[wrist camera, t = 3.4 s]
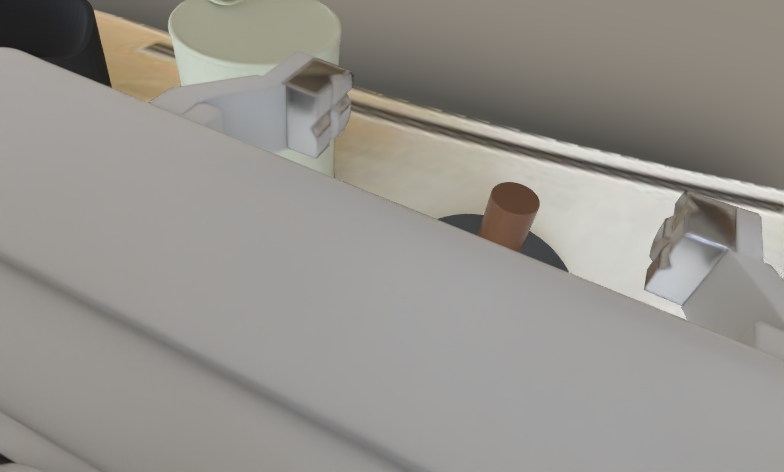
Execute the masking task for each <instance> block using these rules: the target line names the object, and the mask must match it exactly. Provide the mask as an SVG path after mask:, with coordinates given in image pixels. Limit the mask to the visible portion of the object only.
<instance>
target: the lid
mask: <svg viewBox="0 0 784 472" xmlns="http://www.w3.org/2000/svg"><path fill="white" fill-rule="evenodd" d="M539 205H540V204H539V199H538V197H537V195H536V194H535V193H534V192H533V191H532V190H531V189H529V188H528V187H526V186H524V185H521V184H518V183H513V182H505V183H501V184H498V185H497V186H495V187H494V188H493V189H492V191H491V194H490V198H489V201H488V204H487V207H486V210H485V213H484V215H478V214H460V215H452V216H447V217H443V218H440V219H437V220H440V221H442V222H445V223H447V224H450V225H452V226H455V227H457V228H459V229H462V230H464V231H467V232H469V233H472V234H474V235H477V236H479V237H482V238H484V239H487V240H489V241H492V242H494V243H497V244H499V245H502V246H504V247H507V248H509V249H511V250H514V251H516V252H519V253H521V254H524V255H526V256H529V257H531V258H534V259H536V260H539V261H541V262H544V263H546V264H549V265H551V266H554V267H556V268H559V269H561V270H563V271H566V272H568V270H567V268H566V266H565V265H564V263H563V262H562V260H561V259H560V257H559V256H558V255H557V254H556V253H555V251H554V250H553V249H552V248H551V247H550V246H549V245H548V244H546V243H545V242H544V241H543V240H542V239H540V238H539V237H538V236H536V235H535V234H533V233H532V232H530V231H529V230H530V228H531V225H532V223H533V221H534V218H535V216H536V213H537V211H538V209H539ZM568 273H569V272H568Z"/></svg>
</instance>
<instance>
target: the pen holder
mask: <svg viewBox="0 0 784 472" xmlns="http://www.w3.org/2000/svg"><path fill="white" fill-rule="evenodd" d="M0 47H7V48H13V49H17V50H20V51H23V52H26V53H28V54H30V55H33V56H35V57H37V58H40V59H42V60H44V61H47V62H49V63H51V64H54V65H56V66H59V67H61V68H64V69H66V70H69V71H71V72H74V73H76V74H79V75H81V76H83V77H86V78H88V79H91V80H93V81H96V82H98V83H101V84H103V85H106V86H108V87H111V88H112V86H111V82H110V78H109V74H108V69H107V65H106V61H105V57H104V52H103V48H102V44H101V40H100V35H99V31H98V27H97V23H96V19H95V14H94V10H93V8H92V6H91V4H90V3H89V2H88V1H87V0H0Z"/></svg>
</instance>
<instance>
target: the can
mask: <svg viewBox="0 0 784 472" xmlns="http://www.w3.org/2000/svg"><path fill="white" fill-rule="evenodd" d="M168 30H169V33H170V36H171V39H172V43H173V47H174V52H175V57H176V62H177V67H178V72H179V77H180V82H181V86H185V85H192V84H198V83H205V82H211V81H218V80H224V79H231V78H237V77H244V76H250V75H260V76H263V75H265V74H266V73H267V72H269V71H270V70H272V69H273V68H274V67H276V66H277V65H278V64H280V63H281V62H282V61H284V60H285V59H286V58H288V57H289V56H291V55H292V54H293V53H295V52H302V53H305V54H308V55H311V56H314V57H316V58H319V59H322V60H324V61H327V62H329V63H332V64H335V65H337V66H338V62H339V47H340V39H341V35H342V28H341V23H340V21H339V19H338V17H337V16H336V15H335V14H334V12H333V11H332V10H331V9H329V8H328V7H327V6H325V5H324V4H322V3H321V2H319V1H317V0H186V1H184V2H182V3H181V4H180V5H179V6H177V7H176V8H175V9H174V10H173V12H172V14H171V15H170V18H169V21H168ZM334 138H335V137H334ZM334 138H330V146H329V147H328V148H327V149H326V150H325V151H324V152H323V153H322V154H321V155H320V156H319V157H318V158H317V159H315V158H312V157H310V156H307V155H304V154H301V153H299V152H296V151H293V150H291V149H288V148H287V150H285V151H282V152H279V153H276V155H279V156H281V157H284V158H286V159H289V160H291V161H294V162H296V163H299V164H301V165H304V166H306V167H309V168H311V169H313V170H316V171H318V172H321V173H323V174H326V175H328V176H331V177H333V178H335V177H334Z"/></svg>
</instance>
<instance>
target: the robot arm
mask: <svg viewBox="0 0 784 472" xmlns="http://www.w3.org/2000/svg"><path fill="white" fill-rule="evenodd" d="M352 88H353V74H352V72H351V70H348V69H345V68H343V67H340V66H337V65H335V64H332V63H329V62H327V61H324V60H322V59H319V58H316V57H314V56H311V55H308V54H305V53H302V52H295V53H293V54H292V55H291V56H289V57H288V58H286V59H285V60H284V61H282V62H281V63H280V64H278V65H277V66H276V67H274V68H273V69H272V70H270V71H269V72H267V73H266V74H265V75H263V76H260V75H250V76H244V77H237V78H231V79H224V80H218V81H211V82H205V83H198V84H192V85H185V86H179V87H172V88H170V89H168V90H167V91H165V92H164V93H162V94H161V95H159V96H157V97H156V98H154V99H153V100H151V101H150V102H145V101H143V100H140V99H138V98H135V97H133V96H130V95H128V94H126V93H123V92H121V91H118V90H116V89H113V88H111V87H108V86H106V85H103V84H101V83H98V82H96V81H93V80H91V79H88V78H86V77H83V76H81V75H79V74H76V73H74V72H71V71H69V70H66V69H64V68H61V67H59V66H56V65H54V64H51V63H49V62H47V61H44V60H42V59H40V58H37V57H35V56H33V55H30V54H28V53H26V52H23V51H20V50H17V49H13V48H7V47H0V472H784V280H783V279H782V278H781V277H780V276H779V274H778V273H777V272H776V271H775V270H774V268H773V267H772V266H771V265H769V264H766V263H764V259H763V241H762V223H761V216H760V215H759V214H758V213H755V212H751V211H748V210H745V209H742V208H739V207H736V206H732V205H729V204H726V203H723V202H720V201H717V200H714V199H711V198H708V197H705V196H702V195H699V194H696V193H693V192H690V191H685V192H684V193H683V194H682V195H681V196H680V198H679V199H678V201H677V202H676V204H675V209H674V216H671V217H669V218H666V219H665V220H664V222H663V224H662V225H661V227H660V229H659V230H658V232H657V234H656V236H655V238H654V241H653V244H652V247H651V251H650V258H651V260H652V261H653V262H652V263H651V265H650V266H649V268H648V269H647V274H646V281H645V287H644V290H646V291H648V292H650V293H653V294H655V295H657V296H660V297H662V298H664V299H667V300H669V301H671V302H674V303H676V304H679V305H681V306H682V307H681V308H682V310H683V312H684V314H685V316H686V318H687V320H688V321H687V320H685V319H682V318H680V317H677V316H675V315H672V314H670V313H667V312H665V311H662V310H660V309H658V308H655V307H653V306H650V305H648V304H645V303H643V302H640V301H638V300H635V299H633V298H630V297H628V296H625V295H623V294H620V293H618V292H615V291H613V290H611V289H608V288H606V287H603V286H601V285H598V284H596V283H593V282H591V281H588V280H586V279H583V278H581V277H578V276H576V275H573V274H571V273H568V272H566V271H563V270H561V269H559V268H556V267H554V266H551V265H549V264H546V263H544V262H541V261H539V260H536V259H534V258H531V257H529V256H526V255H524V254H521V253H519V252H516V251H514V250H511V249H509V248H507V247H504V246H502V245H499V244H497V243H494V242H492V241H489V240H487V239H484V238H482V237H479V236H477V235H474V234H472V233H469V232H467V231H464V230H462V229H459V228H457V227H455V226H452V225H450V224H447V223H445V222H442V221H440V220H437V219H435V218H432V217H430V216H427V215H425V214H422V213H420V212H417V211H415V210H412V209H410V208H408V207H405V206H403V205H400V204H398V203H395V202H393V201H390V200H388V199H385V198H383V197H380V196H378V195H375V194H373V193H370V192H368V191H365V190H363V189H360V188H358V187H356V186H353V185H351V184H348V183H346V182H343V181H341V180H338V179H336V178H333V177H331V176H328V175H326V174H323V173H321V172H318V171H316V170H313V169H311V168H309V167H306V166H304V165H301V164H299V163H296V162H294V161H291V160H289V159H286V158H284V157H281V156H279V155H276V153H279V152H282V151H285V150H287V148H288V149H291V150H293V151H296V152H299V153H301V154H304V155H307V156H310V157H312V158H315V159H317V158H318V157H319V156H320V155H321V154H322V153H323V152H324V151H325V150H326V149H327V148H328V147H329V146H330V138H334V137H338V136H339V135H340V134H341V133H342V132H343V131H344V129H345V127H346V125H347V123H348V121H349V117H350V113H351V105H352V103H351V101H350V99H349V97H348V95H347V93H348V92H349V91H350V90H351V89H352Z"/></svg>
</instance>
